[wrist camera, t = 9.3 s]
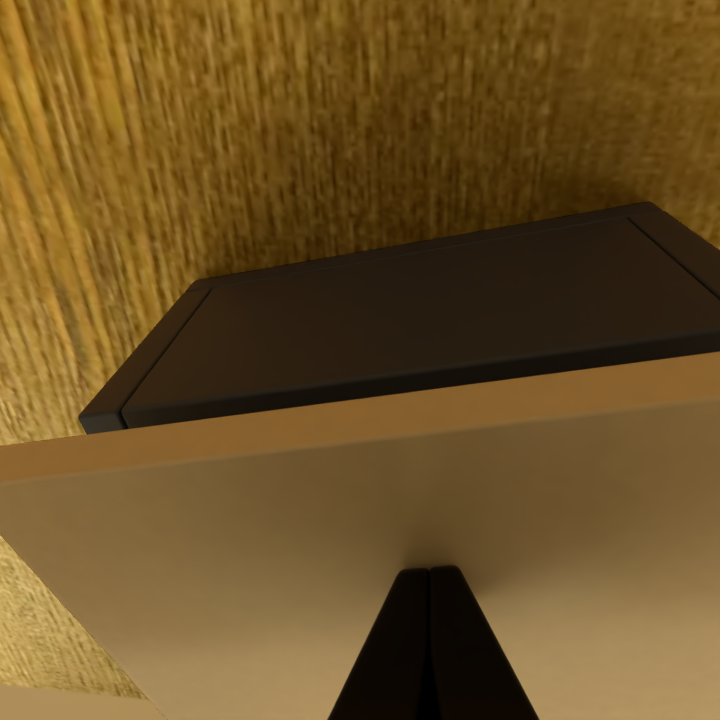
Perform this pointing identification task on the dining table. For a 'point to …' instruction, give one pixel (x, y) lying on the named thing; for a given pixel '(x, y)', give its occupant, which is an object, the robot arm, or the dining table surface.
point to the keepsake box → (424, 319)
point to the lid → (397, 539)
